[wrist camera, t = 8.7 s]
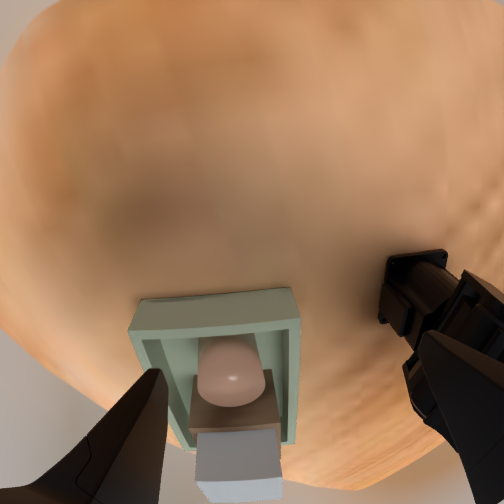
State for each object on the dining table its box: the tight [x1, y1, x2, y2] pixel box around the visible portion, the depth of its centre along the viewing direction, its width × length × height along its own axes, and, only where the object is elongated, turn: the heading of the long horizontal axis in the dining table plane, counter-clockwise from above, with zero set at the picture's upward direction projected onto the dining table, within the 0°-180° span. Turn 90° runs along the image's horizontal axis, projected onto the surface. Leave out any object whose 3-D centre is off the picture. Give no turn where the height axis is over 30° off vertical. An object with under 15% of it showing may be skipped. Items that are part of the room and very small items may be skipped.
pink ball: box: [197, 333, 265, 407], centre depth 20 cm, size 5×5×5 cm
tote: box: [128, 287, 301, 451], centre depth 23 cm, size 12×17×4 cm
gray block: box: [195, 428, 282, 503], centre depth 18 cm, size 6×6×4 cm
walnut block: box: [188, 369, 281, 459], centre depth 23 cm, size 7×7×6 cm
